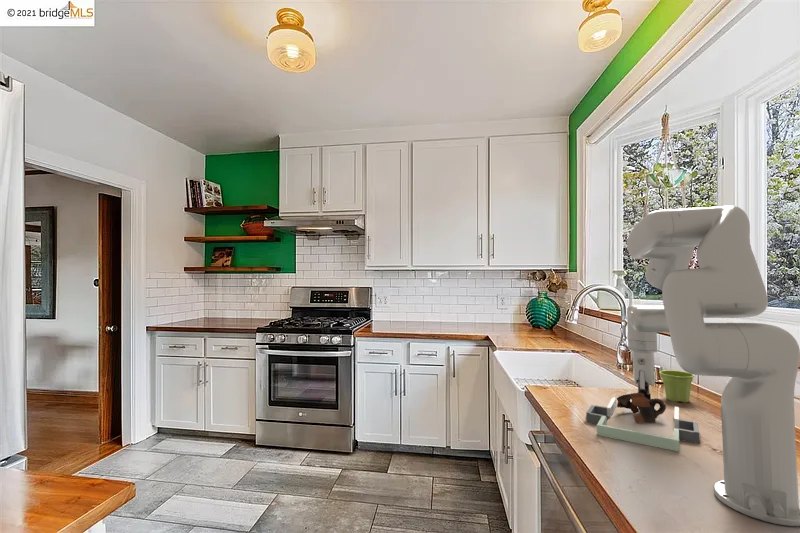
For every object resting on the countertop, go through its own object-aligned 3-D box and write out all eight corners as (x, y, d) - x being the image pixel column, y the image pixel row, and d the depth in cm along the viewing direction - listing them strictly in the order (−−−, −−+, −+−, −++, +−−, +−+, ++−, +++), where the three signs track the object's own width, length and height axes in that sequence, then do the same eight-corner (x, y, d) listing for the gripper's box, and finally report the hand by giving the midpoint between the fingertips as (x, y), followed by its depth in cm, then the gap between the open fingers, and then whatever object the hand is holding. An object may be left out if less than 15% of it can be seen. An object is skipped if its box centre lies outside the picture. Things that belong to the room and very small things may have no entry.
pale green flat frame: (701, 456, 86) (700, 444, 86) (580, 431, 100) (579, 421, 100) (696, 418, 109) (696, 409, 109) (598, 403, 123) (598, 395, 123)
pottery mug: (625, 425, 106) (614, 395, 110) (623, 430, 113) (613, 401, 118) (674, 418, 102) (660, 387, 106) (669, 423, 109) (656, 394, 114)
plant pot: (653, 398, 128) (652, 371, 128) (671, 394, 132) (670, 368, 132) (684, 406, 120) (683, 378, 120) (701, 401, 124) (700, 374, 124)
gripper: (655, 350, 109) (658, 416, 108) (658, 343, 121) (660, 402, 120) (625, 348, 113) (627, 411, 112) (630, 341, 125) (632, 398, 124)
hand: (644, 406), depth 116 cm, fingers closed
